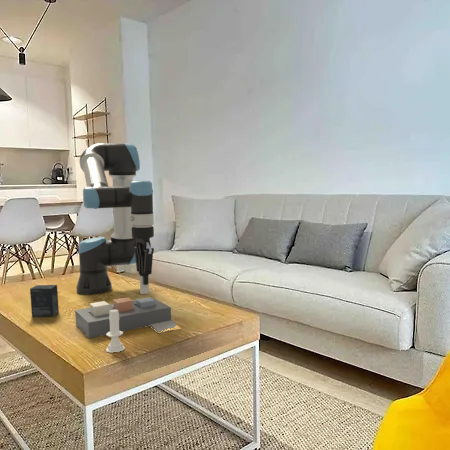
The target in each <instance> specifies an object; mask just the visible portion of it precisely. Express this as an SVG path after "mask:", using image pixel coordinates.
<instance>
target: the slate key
mask: <svg viewBox="0 0 450 450" xmlns="http://www.w3.org/2000/svg"><path fill="white" fill-rule="evenodd" d="M135 300H136V306H138V307H139V308H145V307H151V306H155V300H153V299H151V297H144V298H136V299H135Z"/></svg>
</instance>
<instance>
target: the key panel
mask: <svg viewBox="0 0 450 450" xmlns="http://www.w3.org/2000/svg"><path fill="white" fill-rule="evenodd" d="M150 298H151V299H153V300H155V306H151V307H145V308H139V307H138V306H136V299H135V300H133V310H128V311H123V312H119V331H122V332H123V333H124V332H128V331H132V330H136V329H141V328H140V327H142V328H146V327H145V326H147V327H150V326H149V325H150V324H155V323H160V322H165V321H170V320H172V307H171V306H170V305H168V304H166V303H164V302H162V301H160V300H158V299H156V298H154V297H150ZM108 304H109V303H108ZM109 308H110V310H113V309H114V304H113V303H110V304H109ZM74 313H75V315H74V316H75V326H76V327H78V328H79V330H81V332H82V333H83V334H84V335H85V336H86V337H87V338H88V339H93V338H98V337H102V336H107V335H106V334H107V333H108V332H110V320H109V314H106V315H101V316H95V317H93V316H92V315H91V314H90V307H87V308H80V309H75V310H74Z"/></svg>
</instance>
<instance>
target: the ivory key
mask: <svg viewBox="0 0 450 450" xmlns="http://www.w3.org/2000/svg"><path fill="white" fill-rule="evenodd" d="M89 308H90V314H91V315H92V316H93V317H95V316H101V315H106V314H109V311H110V308H109V303H108V302H106V301H105V300H103V301H96V302H90V303H89Z"/></svg>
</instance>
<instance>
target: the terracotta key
mask: <svg viewBox="0 0 450 450" xmlns="http://www.w3.org/2000/svg"><path fill="white" fill-rule="evenodd" d="M112 301H113V303H112V304H114V309H116V310H118V311H119V312H123V311H128V310H133V300H132V299H130V298H129V297H122V298H116V299H113V300H112Z"/></svg>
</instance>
